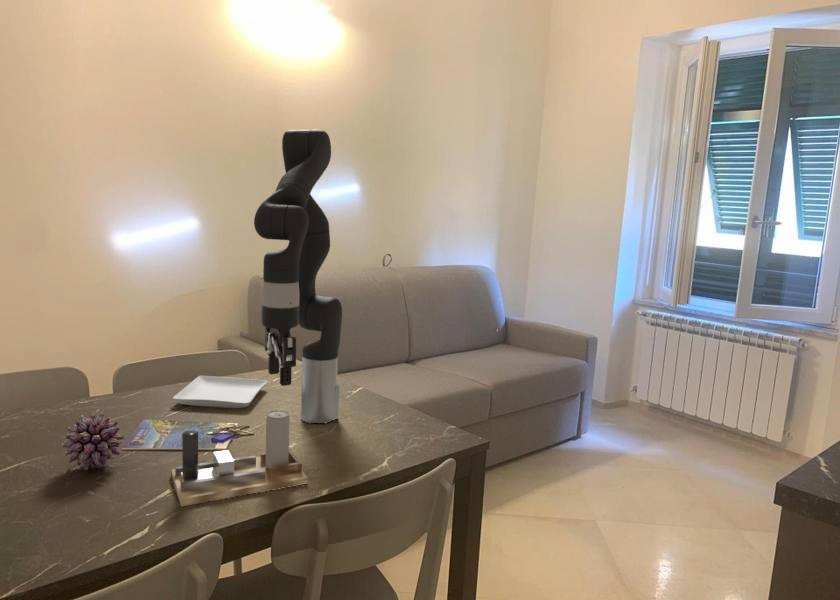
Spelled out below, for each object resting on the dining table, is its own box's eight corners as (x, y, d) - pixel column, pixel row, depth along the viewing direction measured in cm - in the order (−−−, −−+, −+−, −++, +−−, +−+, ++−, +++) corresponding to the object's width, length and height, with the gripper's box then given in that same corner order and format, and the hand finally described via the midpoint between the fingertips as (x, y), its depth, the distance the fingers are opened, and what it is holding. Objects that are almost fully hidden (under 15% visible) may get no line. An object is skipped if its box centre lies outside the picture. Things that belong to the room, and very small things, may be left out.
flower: (48, 472, 132) (46, 417, 130) (96, 452, 143) (95, 401, 141) (91, 484, 128) (89, 428, 126) (137, 462, 139) (136, 410, 137)
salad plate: (249, 413, 173) (249, 401, 173) (171, 409, 173) (170, 397, 173) (268, 390, 194) (268, 379, 193) (198, 385, 194) (198, 375, 194)
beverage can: (283, 473, 134) (284, 419, 132) (261, 470, 135) (262, 416, 133) (291, 464, 139) (293, 411, 137) (271, 461, 140) (272, 409, 138)
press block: (227, 467, 135) (228, 423, 133) (234, 479, 130) (234, 433, 128) (180, 474, 130) (180, 429, 129) (184, 487, 125) (184, 440, 123)
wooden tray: (287, 458, 145) (288, 443, 145) (307, 484, 133) (308, 468, 133) (170, 476, 133) (170, 460, 133) (181, 506, 121) (180, 489, 121)
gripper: (309, 308, 126) (307, 387, 129) (288, 296, 139) (286, 368, 142) (272, 310, 123) (271, 391, 126) (253, 297, 135) (252, 371, 138)
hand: (279, 379), depth 134 cm, fingers open, 8 cm apart
